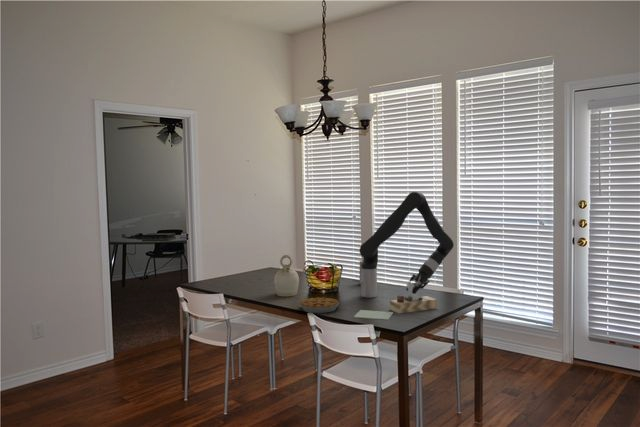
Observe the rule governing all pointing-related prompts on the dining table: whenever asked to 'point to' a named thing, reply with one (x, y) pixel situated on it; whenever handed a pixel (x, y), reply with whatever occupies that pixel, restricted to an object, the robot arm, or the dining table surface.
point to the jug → (286, 280)
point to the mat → (373, 314)
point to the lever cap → (410, 287)
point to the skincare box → (360, 271)
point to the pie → (319, 305)
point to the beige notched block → (412, 304)
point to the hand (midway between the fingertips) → (410, 291)
